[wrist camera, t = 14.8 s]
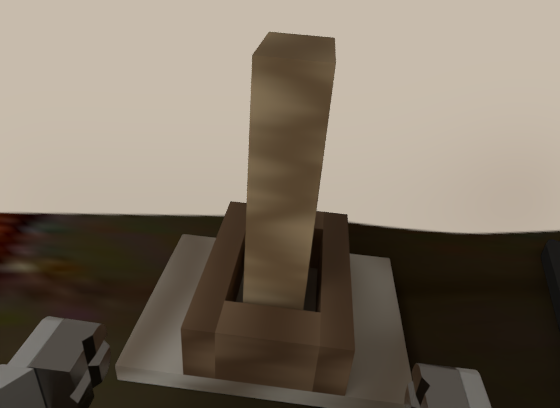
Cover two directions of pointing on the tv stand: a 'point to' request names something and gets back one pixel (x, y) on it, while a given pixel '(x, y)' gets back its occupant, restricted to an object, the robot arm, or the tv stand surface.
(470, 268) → the tv stand surface
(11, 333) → the tv stand surface
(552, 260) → the smart home device
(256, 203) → the oak plank
